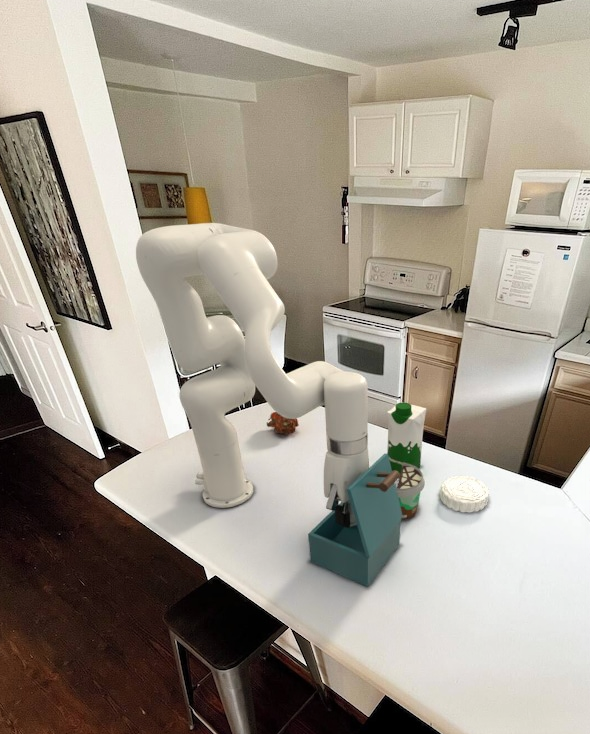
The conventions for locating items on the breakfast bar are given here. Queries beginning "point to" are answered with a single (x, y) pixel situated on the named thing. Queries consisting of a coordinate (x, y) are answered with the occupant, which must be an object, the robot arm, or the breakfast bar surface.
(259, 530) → the breakfast bar surface
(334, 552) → the teal hinged box
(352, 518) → the rook chess piece
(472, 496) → the mooncake
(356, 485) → the lid
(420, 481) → the food container
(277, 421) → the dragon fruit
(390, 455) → the milk carton
